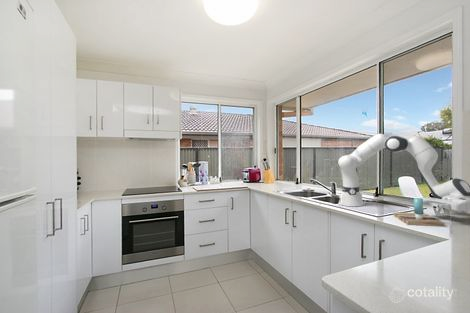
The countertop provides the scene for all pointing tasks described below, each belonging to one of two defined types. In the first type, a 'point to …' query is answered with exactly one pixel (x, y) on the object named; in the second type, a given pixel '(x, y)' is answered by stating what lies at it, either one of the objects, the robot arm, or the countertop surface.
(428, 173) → the robot arm
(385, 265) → the countertop surface
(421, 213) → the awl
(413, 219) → the board
